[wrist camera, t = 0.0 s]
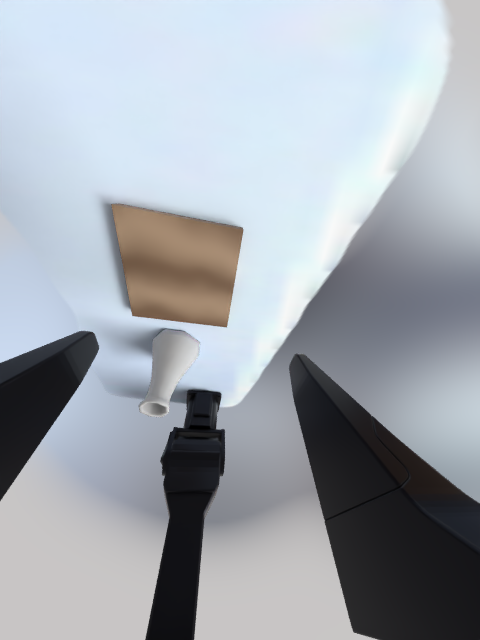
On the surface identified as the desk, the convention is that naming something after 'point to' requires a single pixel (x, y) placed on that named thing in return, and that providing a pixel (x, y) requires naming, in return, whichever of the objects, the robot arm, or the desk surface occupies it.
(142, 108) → the desk surface
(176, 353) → the flask
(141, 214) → the flat brown panel
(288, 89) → the desk surface
